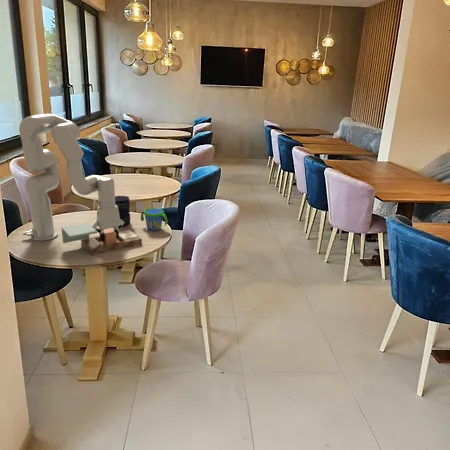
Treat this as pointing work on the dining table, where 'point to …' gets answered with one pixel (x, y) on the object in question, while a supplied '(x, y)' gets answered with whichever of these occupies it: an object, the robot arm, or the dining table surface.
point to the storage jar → (123, 209)
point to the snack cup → (154, 218)
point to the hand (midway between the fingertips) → (109, 239)
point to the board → (123, 241)
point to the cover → (77, 232)
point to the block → (109, 237)
